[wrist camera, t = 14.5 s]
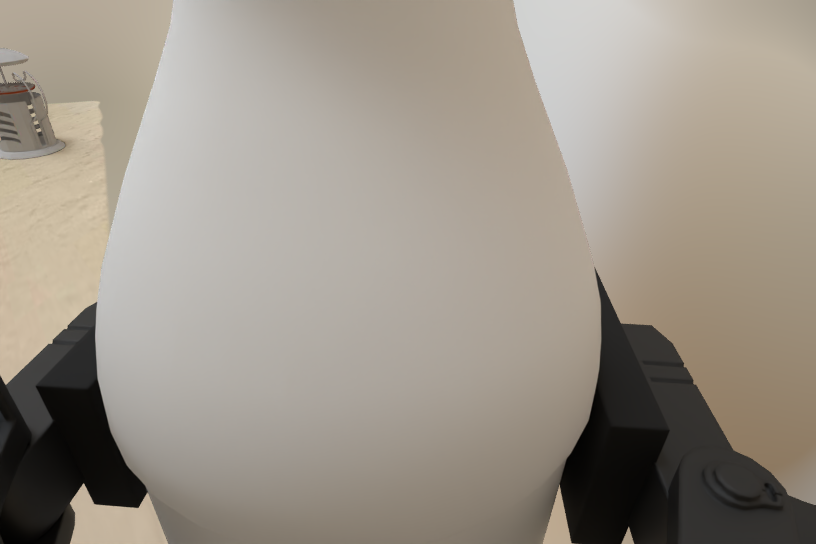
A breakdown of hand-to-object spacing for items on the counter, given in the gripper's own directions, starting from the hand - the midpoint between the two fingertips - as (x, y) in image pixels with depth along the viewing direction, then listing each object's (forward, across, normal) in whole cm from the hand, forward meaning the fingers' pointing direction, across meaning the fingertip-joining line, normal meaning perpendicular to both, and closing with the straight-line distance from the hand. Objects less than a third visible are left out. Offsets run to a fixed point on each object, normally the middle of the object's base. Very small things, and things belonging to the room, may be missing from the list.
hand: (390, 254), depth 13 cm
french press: (+65, -65, -22) cm, 94 cm away
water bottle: (-5, 0, -15) cm, 16 cm away
